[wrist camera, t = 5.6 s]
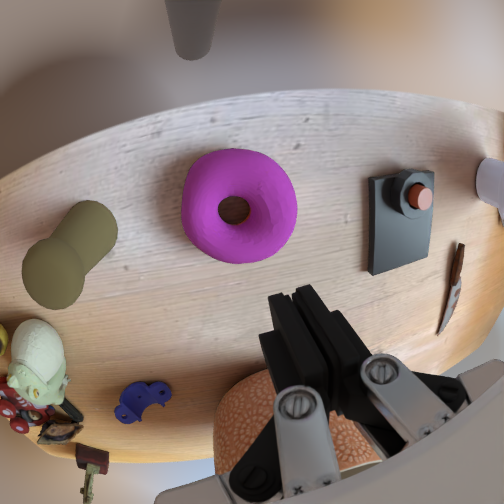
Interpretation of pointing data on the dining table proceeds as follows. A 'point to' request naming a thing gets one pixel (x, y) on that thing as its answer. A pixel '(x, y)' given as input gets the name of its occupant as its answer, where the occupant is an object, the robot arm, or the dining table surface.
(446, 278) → the dining table surface
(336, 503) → the robot arm
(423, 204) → the button
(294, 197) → the donut
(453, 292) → the kitchen knife
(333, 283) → the dining table surface
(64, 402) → the folding knife
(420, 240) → the push button panel
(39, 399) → the figurine
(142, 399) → the bracket
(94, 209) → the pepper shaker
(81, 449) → the small statue on base
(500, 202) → the soap bottle
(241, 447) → the planter
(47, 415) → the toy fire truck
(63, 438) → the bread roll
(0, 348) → the banana
